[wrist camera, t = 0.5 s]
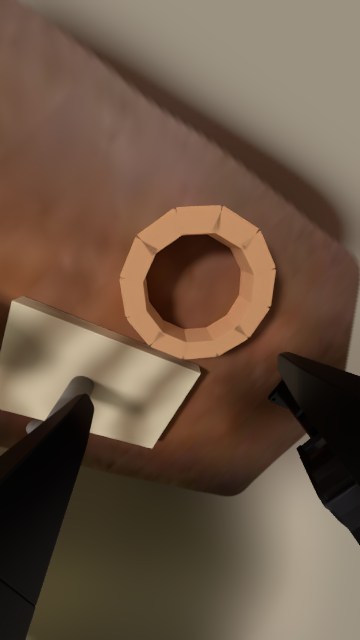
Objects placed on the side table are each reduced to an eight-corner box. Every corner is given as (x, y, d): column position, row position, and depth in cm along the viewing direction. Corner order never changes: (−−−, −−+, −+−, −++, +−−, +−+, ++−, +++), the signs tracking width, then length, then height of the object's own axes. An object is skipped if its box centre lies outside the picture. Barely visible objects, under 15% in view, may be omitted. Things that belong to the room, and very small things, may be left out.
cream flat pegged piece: (198, 365, 23) (214, 420, 16) (152, 437, 27) (148, 507, 20) (23, 295, 18) (-64, 329, 11) (-1, 395, 22) (-77, 466, 15)
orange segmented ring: (283, 256, 19) (304, 258, 16) (215, 359, 22) (222, 375, 20) (163, 180, 16) (163, 167, 13) (108, 314, 19) (99, 326, 17)
